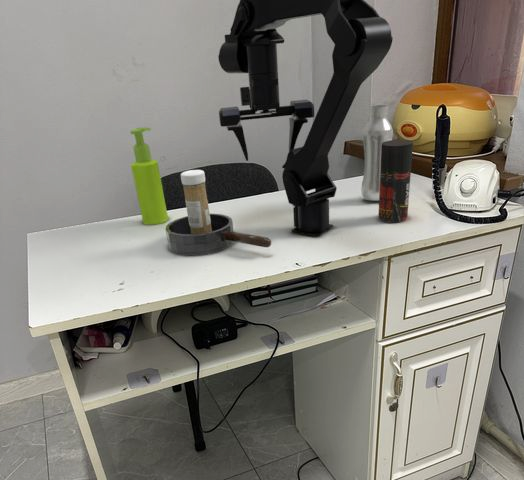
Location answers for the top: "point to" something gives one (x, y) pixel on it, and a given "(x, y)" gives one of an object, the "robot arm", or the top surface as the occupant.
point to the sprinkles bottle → (196, 201)
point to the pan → (198, 236)
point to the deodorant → (395, 180)
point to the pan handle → (245, 238)
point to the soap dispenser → (148, 182)
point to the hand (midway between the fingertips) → (268, 158)
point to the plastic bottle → (374, 150)
